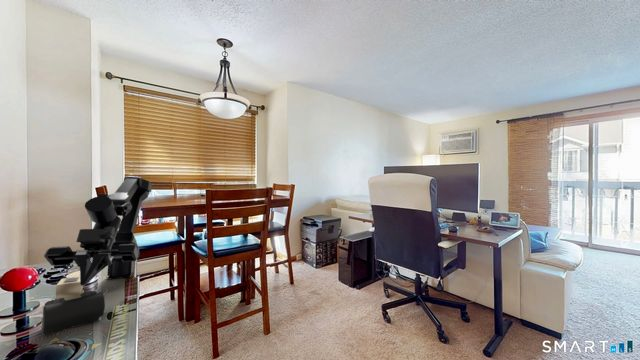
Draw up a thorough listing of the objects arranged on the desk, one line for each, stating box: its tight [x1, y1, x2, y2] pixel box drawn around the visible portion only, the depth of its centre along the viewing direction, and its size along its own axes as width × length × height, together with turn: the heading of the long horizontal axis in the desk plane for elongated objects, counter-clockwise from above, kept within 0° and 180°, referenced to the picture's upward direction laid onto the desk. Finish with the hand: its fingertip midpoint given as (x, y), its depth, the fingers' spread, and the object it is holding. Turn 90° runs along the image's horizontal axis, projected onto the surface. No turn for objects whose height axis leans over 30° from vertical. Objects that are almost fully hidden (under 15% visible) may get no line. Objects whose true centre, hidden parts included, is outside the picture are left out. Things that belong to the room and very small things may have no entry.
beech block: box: [54, 276, 85, 300], centre depth 71 cm, size 5×5×5 cm
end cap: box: [41, 290, 106, 337], centre depth 58 cm, size 10×7×7 cm
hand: (83, 284), depth 61 cm, fingers closed
